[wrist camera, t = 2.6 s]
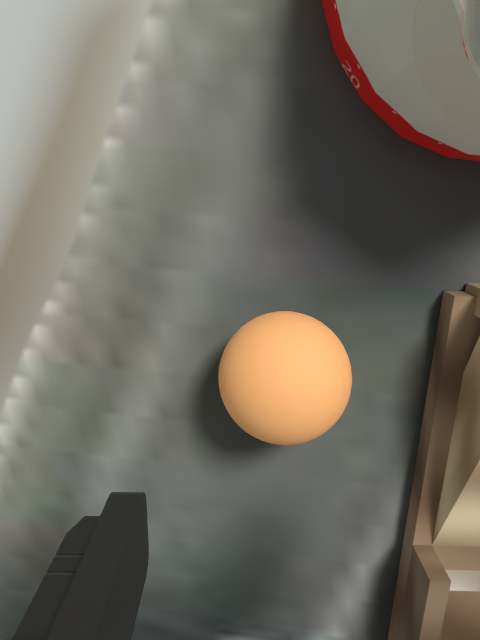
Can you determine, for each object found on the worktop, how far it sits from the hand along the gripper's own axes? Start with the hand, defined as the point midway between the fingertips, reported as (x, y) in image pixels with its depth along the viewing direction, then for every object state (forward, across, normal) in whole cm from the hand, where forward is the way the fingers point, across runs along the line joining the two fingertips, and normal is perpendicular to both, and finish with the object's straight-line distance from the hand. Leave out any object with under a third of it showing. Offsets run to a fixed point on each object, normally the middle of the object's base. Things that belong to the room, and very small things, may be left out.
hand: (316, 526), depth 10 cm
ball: (+7, 0, -1) cm, 7 cm away
